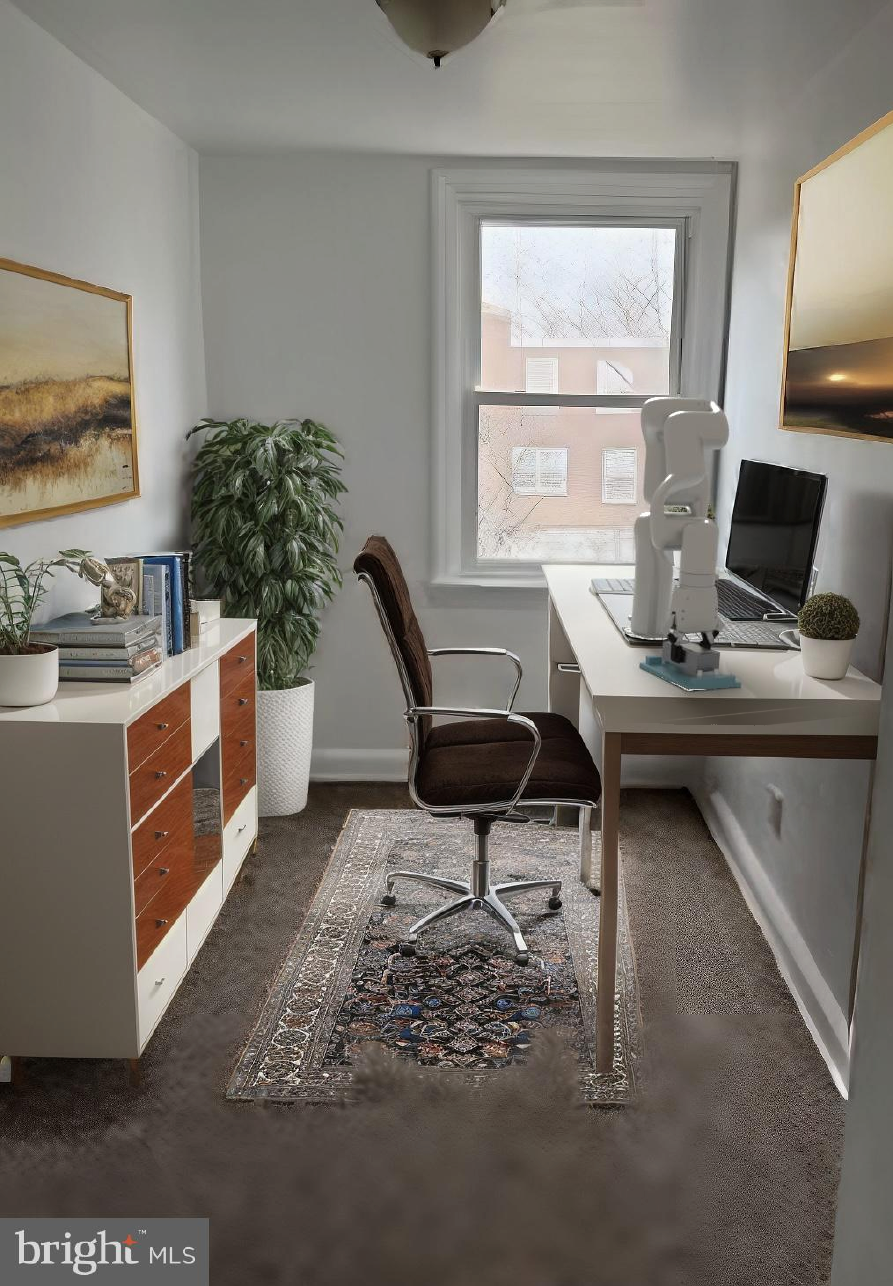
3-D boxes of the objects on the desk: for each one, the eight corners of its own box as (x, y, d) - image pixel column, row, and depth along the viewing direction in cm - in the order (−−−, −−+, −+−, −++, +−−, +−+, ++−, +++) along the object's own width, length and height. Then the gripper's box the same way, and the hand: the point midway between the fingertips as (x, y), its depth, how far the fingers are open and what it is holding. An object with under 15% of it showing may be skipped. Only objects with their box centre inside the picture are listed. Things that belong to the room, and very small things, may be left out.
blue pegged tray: (639, 667, 235) (640, 652, 234) (689, 663, 239) (690, 648, 238) (688, 691, 217) (689, 675, 216) (740, 687, 221) (742, 671, 220)
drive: (661, 659, 231) (663, 641, 230) (683, 656, 234) (684, 639, 233) (696, 673, 221) (697, 654, 220) (718, 670, 223) (720, 651, 222)
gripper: (720, 575, 229) (713, 654, 233) (652, 578, 223) (646, 659, 228) (741, 581, 222) (733, 662, 226) (670, 584, 216) (664, 668, 221)
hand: (689, 660), depth 227 cm, fingers closed on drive, 6 cm apart
